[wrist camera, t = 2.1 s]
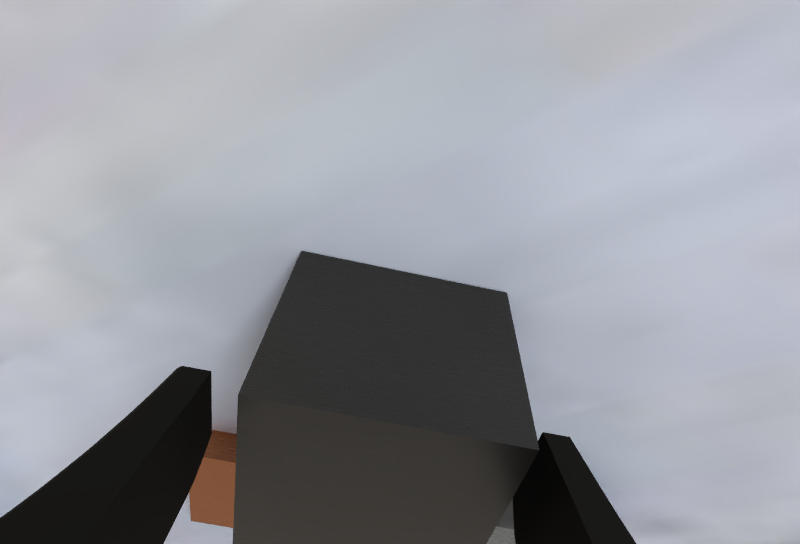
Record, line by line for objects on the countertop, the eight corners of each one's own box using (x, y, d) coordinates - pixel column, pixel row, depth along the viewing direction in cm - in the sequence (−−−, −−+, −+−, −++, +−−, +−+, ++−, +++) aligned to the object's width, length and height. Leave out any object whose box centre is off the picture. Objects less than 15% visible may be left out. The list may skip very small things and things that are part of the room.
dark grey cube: (506, 293, 12) (539, 450, 8) (453, 427, 15) (459, 591, 11) (301, 250, 12) (238, 394, 8) (285, 395, 14) (232, 553, 11)
